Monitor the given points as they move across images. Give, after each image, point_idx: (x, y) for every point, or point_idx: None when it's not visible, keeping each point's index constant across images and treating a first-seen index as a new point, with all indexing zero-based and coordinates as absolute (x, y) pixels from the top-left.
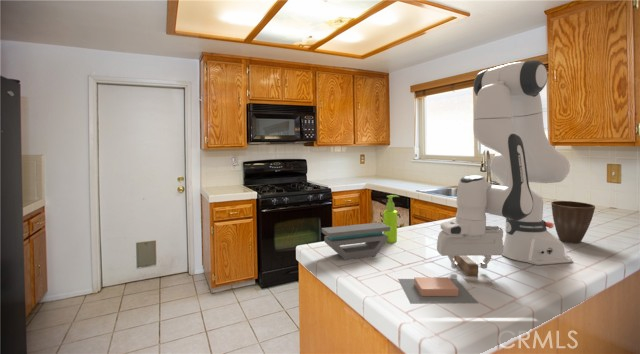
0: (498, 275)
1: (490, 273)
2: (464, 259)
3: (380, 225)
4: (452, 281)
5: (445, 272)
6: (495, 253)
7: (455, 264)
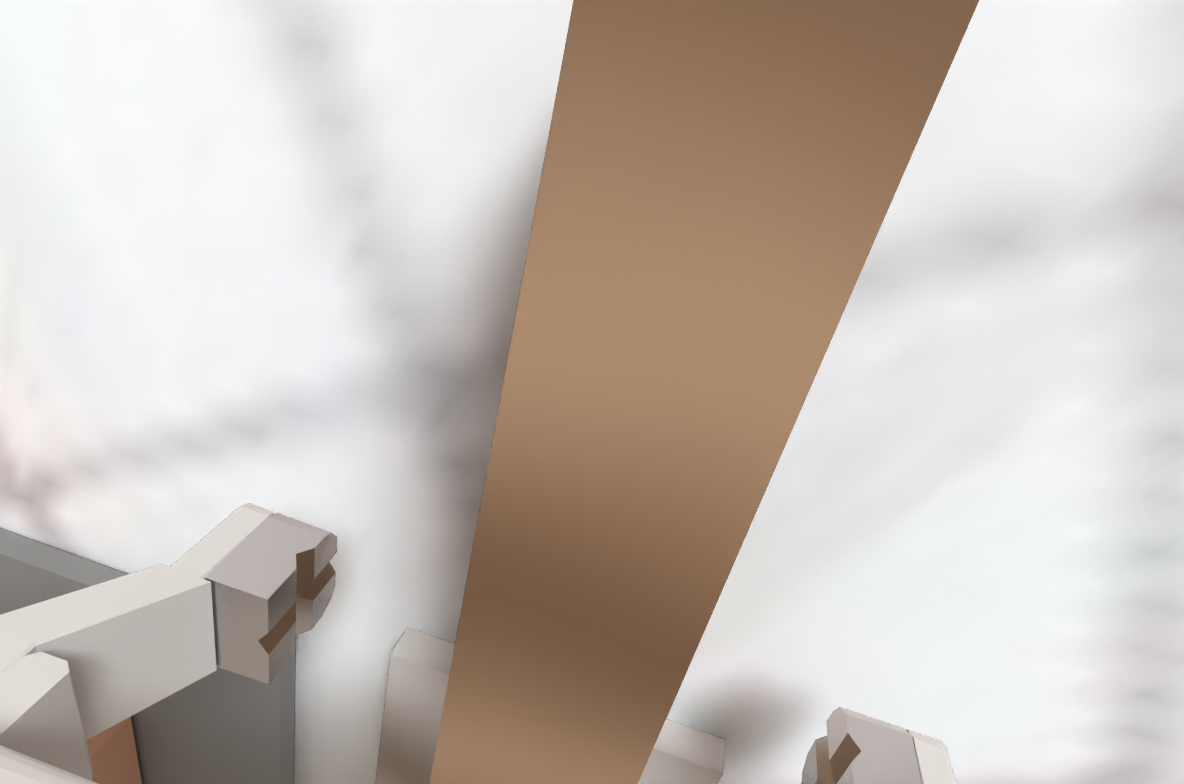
0: (1068, 757)
1: (1017, 663)
2: (492, 654)
3: None
4: (206, 689)
5: (254, 367)
6: None
7: (233, 656)
